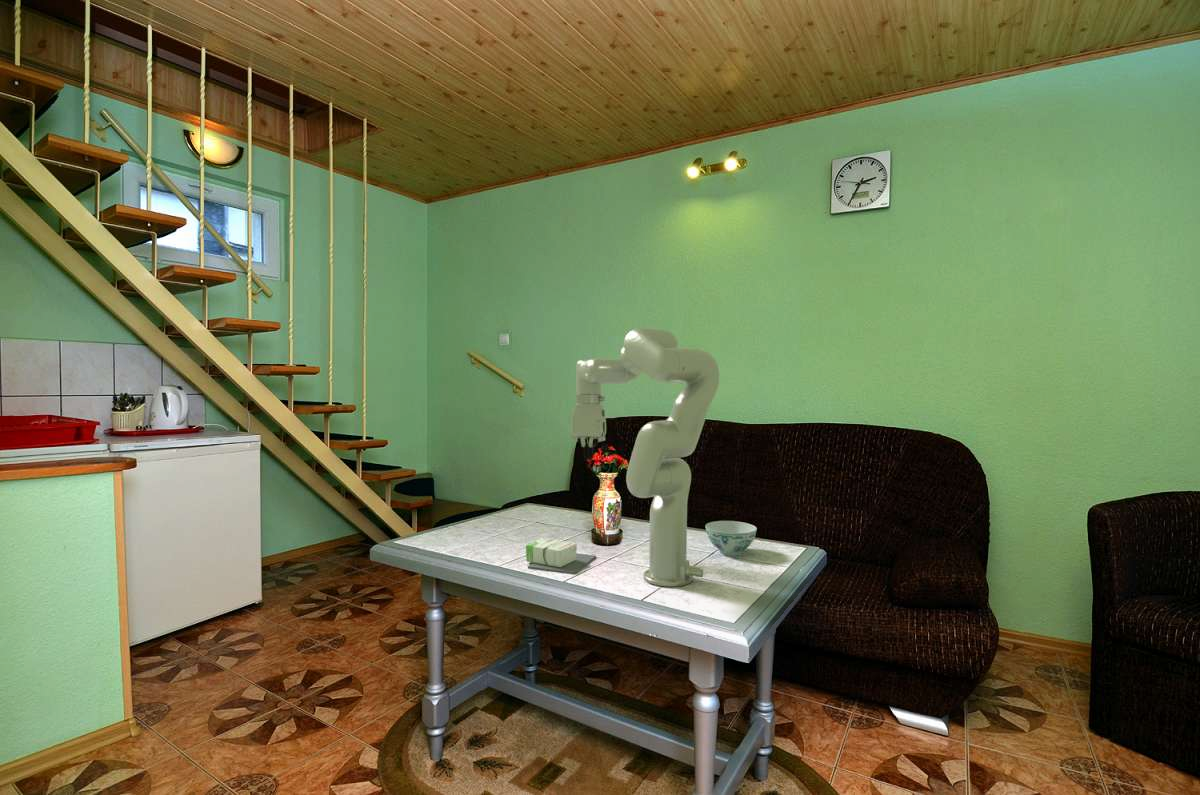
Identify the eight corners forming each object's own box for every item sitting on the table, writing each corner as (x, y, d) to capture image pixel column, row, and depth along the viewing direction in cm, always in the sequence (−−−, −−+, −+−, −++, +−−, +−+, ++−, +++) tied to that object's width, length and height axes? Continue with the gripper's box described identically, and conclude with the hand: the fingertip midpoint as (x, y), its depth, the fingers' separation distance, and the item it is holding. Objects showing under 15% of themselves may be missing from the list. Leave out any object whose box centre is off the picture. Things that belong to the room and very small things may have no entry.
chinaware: (711, 560, 168) (711, 533, 168) (700, 545, 183) (700, 521, 183) (763, 559, 168) (763, 533, 168) (748, 545, 183) (748, 520, 183)
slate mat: (596, 557, 170) (596, 555, 170) (574, 574, 155) (574, 572, 155) (552, 552, 175) (552, 550, 175) (527, 568, 160) (527, 566, 160)
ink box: (525, 562, 164) (560, 568, 158) (525, 544, 164) (560, 550, 158) (543, 554, 172) (577, 560, 166) (543, 537, 172) (577, 542, 166)
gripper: (615, 400, 181) (615, 459, 181) (570, 399, 186) (570, 457, 186) (607, 400, 174) (607, 462, 174) (561, 400, 179) (561, 460, 179)
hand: (588, 459), depth 180 cm, fingers closed
